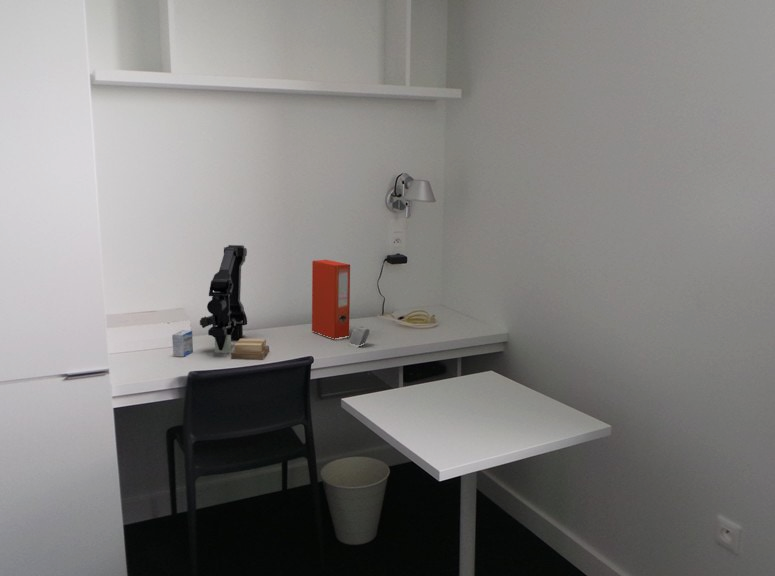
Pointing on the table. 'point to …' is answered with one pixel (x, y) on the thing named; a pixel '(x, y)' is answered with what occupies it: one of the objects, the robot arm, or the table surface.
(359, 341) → the mineral specimen
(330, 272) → the file binder
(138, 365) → the table surface
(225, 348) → the sage block
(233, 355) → the walnut slab
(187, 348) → the medicine box
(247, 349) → the oak slab
